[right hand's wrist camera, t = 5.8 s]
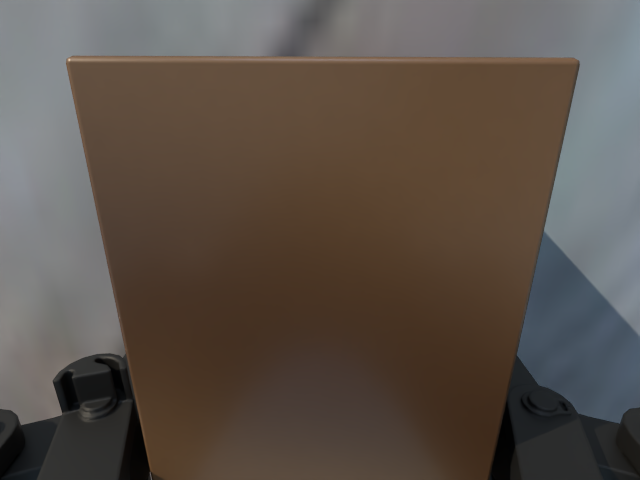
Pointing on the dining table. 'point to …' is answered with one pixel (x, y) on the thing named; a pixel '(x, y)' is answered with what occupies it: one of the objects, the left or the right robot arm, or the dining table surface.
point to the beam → (321, 253)
